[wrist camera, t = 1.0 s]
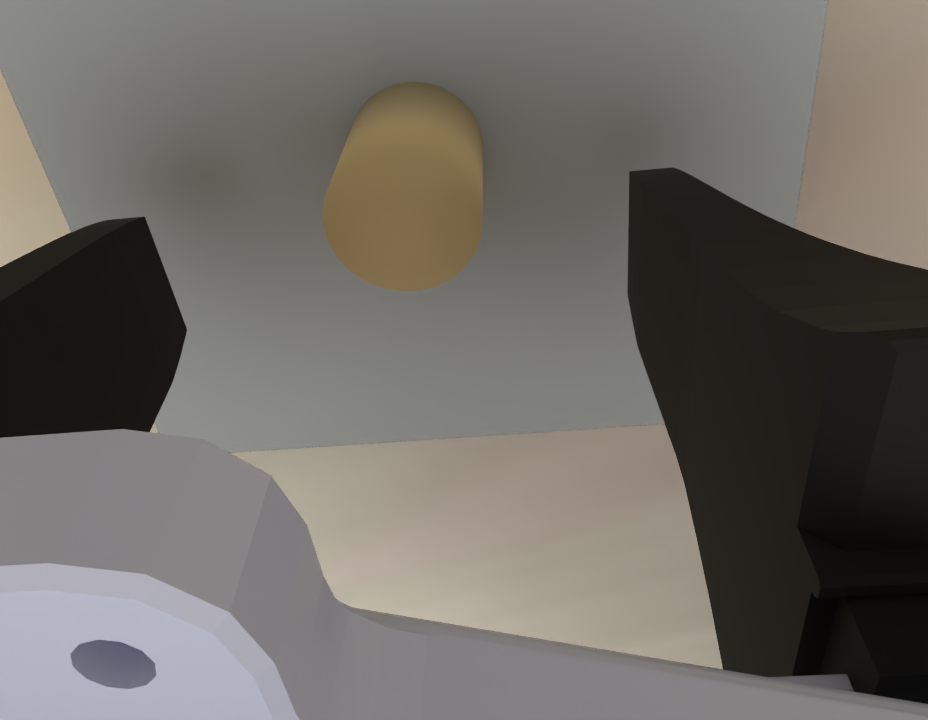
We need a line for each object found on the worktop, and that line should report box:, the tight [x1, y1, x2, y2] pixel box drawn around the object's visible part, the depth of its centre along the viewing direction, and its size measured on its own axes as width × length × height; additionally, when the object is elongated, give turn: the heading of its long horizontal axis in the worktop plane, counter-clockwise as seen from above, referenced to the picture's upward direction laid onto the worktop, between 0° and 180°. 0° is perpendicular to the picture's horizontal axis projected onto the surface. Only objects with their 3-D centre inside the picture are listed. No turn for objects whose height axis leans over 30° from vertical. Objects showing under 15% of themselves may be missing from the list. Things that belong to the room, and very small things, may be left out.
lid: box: [0, 0, 828, 453], centre depth 15 cm, size 15×15×4 cm
